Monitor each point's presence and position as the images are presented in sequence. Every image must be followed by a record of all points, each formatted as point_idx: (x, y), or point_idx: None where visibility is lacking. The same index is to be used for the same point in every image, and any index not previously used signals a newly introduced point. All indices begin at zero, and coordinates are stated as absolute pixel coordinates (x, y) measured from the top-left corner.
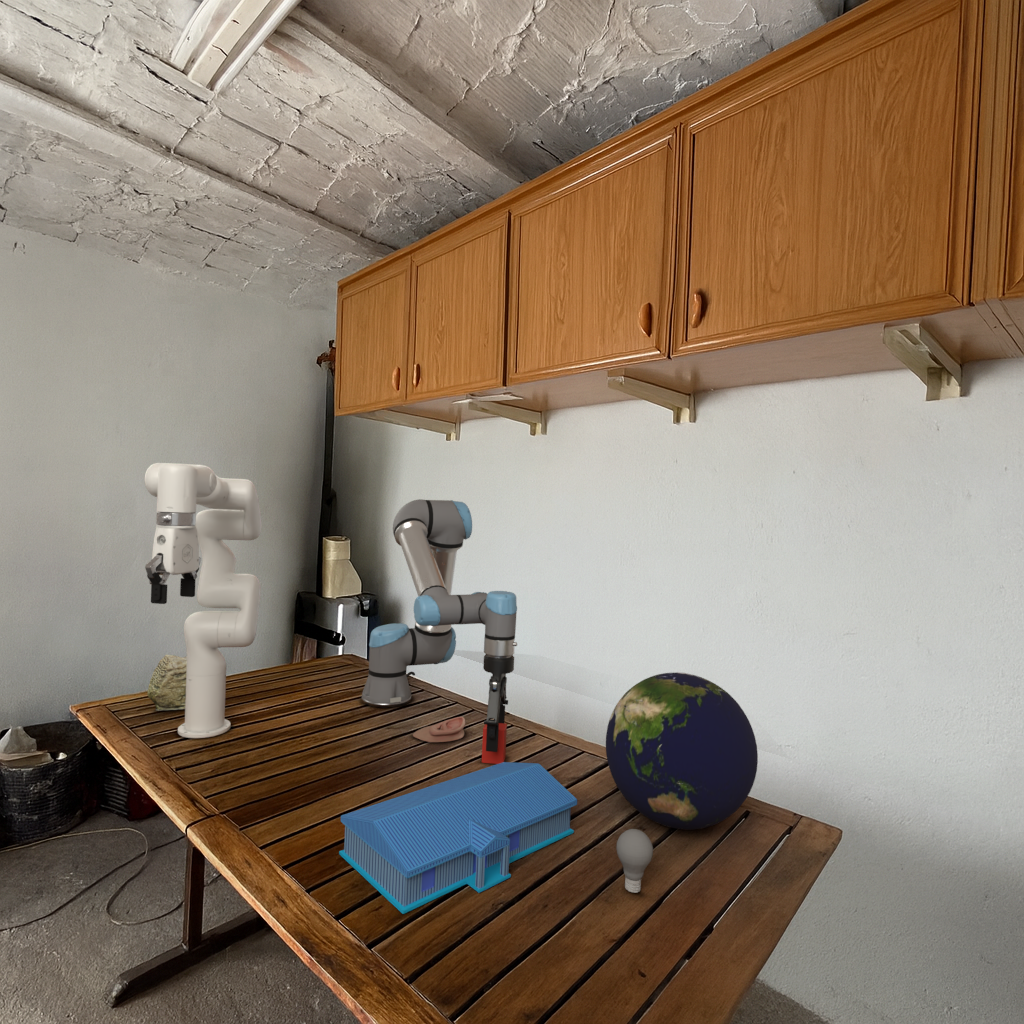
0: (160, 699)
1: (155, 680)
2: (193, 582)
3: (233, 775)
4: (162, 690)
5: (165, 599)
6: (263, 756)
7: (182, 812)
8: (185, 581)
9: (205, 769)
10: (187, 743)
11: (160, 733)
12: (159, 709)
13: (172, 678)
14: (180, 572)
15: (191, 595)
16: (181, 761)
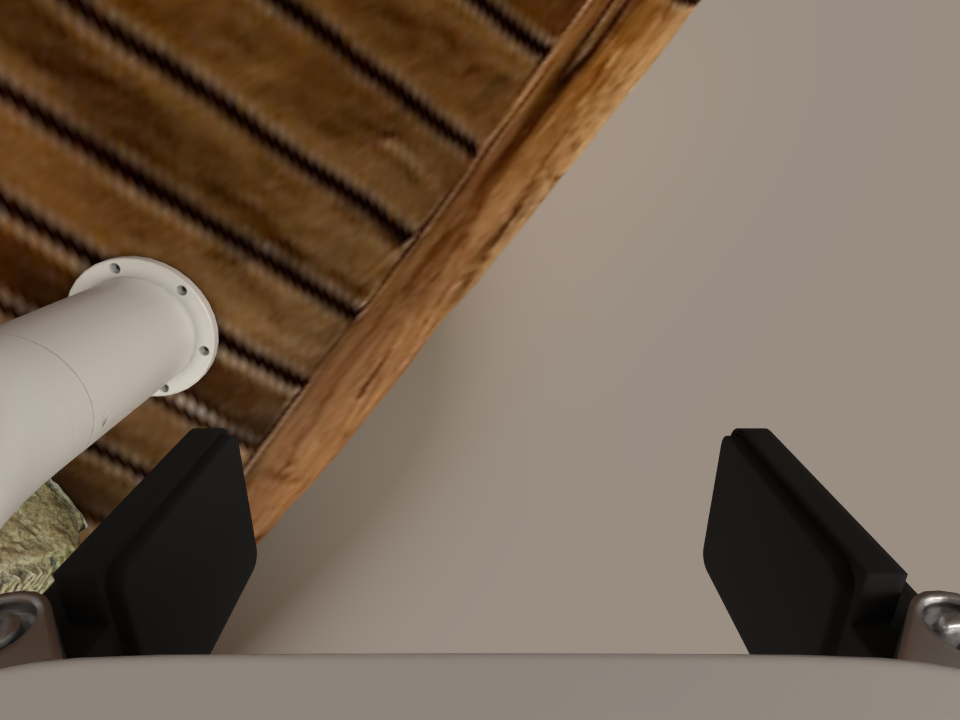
0: (70, 531)
1: (33, 588)
2: (132, 542)
3: (402, 52)
4: (54, 543)
5: (782, 446)
6: (253, 32)
7: (631, 64)
8: (166, 652)
9: (386, 160)
10: (247, 314)
11: (215, 420)
12: (82, 518)
13: (5, 548)
14: (762, 666)
15: (234, 448)
16: (358, 257)
